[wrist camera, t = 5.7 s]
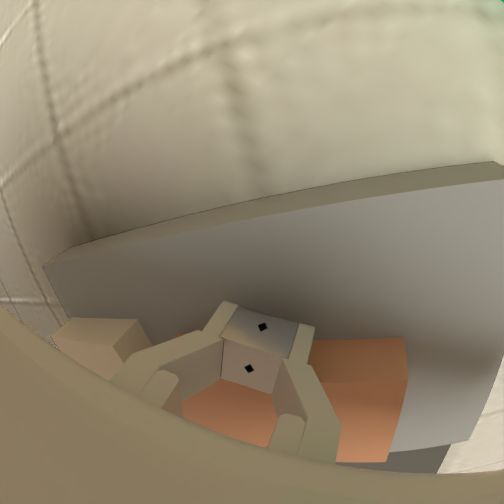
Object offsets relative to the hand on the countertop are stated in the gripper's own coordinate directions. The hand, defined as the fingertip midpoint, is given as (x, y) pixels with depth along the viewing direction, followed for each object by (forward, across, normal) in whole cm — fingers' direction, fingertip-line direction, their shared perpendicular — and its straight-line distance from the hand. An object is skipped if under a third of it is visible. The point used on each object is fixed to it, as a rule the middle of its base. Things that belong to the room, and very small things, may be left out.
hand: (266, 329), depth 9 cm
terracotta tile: (+1, -2, +4) cm, 4 cm away
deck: (+3, 0, +4) cm, 5 cm away
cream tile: (+1, +7, +8) cm, 11 cm away
